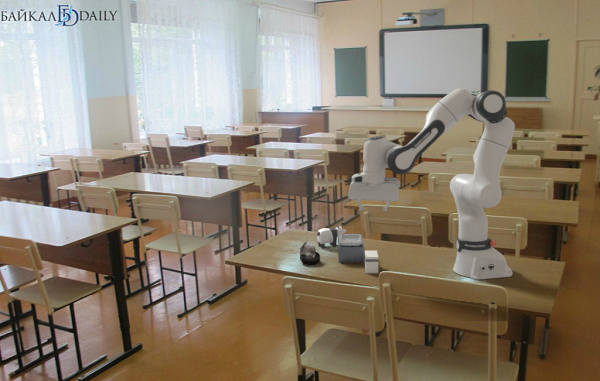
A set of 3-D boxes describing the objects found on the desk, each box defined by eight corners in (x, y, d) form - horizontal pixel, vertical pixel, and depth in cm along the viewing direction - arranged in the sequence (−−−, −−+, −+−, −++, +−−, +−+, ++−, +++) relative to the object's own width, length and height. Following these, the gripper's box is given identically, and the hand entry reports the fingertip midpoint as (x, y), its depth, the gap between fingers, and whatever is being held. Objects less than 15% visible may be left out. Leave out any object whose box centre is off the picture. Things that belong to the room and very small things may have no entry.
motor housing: (362, 251, 246) (362, 233, 244) (364, 262, 232) (364, 243, 230) (338, 251, 247) (337, 233, 245) (338, 262, 232) (338, 243, 231)
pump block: (376, 266, 227) (376, 250, 226) (378, 273, 219) (378, 257, 218) (364, 266, 227) (364, 250, 226) (365, 273, 219) (365, 257, 218)
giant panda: (319, 249, 251) (319, 229, 249) (315, 246, 256) (314, 226, 254) (348, 245, 256) (348, 225, 254) (343, 241, 261) (343, 222, 259)
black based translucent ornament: (315, 272, 230) (294, 265, 234) (325, 258, 239) (305, 252, 243) (315, 259, 227) (294, 253, 231) (326, 245, 236) (305, 240, 240)
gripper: (400, 176, 216) (399, 210, 219) (349, 175, 220) (348, 208, 223) (400, 179, 210) (399, 213, 213) (347, 178, 214) (347, 211, 216)
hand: (373, 210), depth 218 cm, fingers open, 8 cm apart
